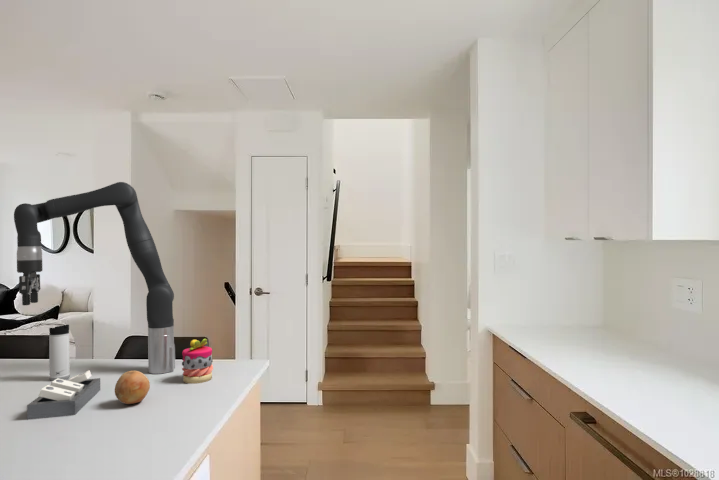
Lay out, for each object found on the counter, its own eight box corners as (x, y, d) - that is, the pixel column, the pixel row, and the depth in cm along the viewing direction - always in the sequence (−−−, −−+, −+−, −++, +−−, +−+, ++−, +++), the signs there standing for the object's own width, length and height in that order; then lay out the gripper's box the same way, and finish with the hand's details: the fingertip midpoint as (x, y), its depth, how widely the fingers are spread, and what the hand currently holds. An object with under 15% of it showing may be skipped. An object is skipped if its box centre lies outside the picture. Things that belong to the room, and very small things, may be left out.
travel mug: (60, 381, 166) (60, 326, 167) (45, 380, 168) (44, 326, 168) (74, 376, 173) (74, 323, 173) (59, 376, 174) (59, 323, 174)
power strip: (107, 382, 164) (107, 371, 164) (75, 414, 132) (74, 400, 132) (70, 385, 161) (69, 374, 161) (27, 419, 129) (27, 405, 129)
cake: (175, 382, 163) (175, 340, 163) (196, 374, 173) (196, 334, 173) (199, 385, 159) (198, 341, 159) (219, 376, 169) (218, 336, 169)
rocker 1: (73, 398, 138) (75, 391, 138) (67, 403, 134) (70, 395, 134) (44, 391, 136) (47, 384, 136) (38, 396, 132) (41, 388, 132)
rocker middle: (81, 390, 145) (84, 384, 146) (76, 395, 141) (79, 388, 141) (54, 384, 144) (57, 377, 144) (49, 388, 139) (51, 381, 139)
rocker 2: (91, 375, 153) (89, 369, 153) (87, 379, 149) (84, 373, 148) (66, 385, 151) (63, 380, 151) (61, 389, 147) (58, 383, 146)
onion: (157, 399, 144) (157, 367, 145) (132, 410, 135) (131, 376, 135) (133, 396, 148) (133, 365, 148) (107, 407, 138) (106, 373, 138)
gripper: (35, 259, 161) (36, 305, 160) (47, 258, 174) (48, 301, 174) (9, 259, 158) (10, 307, 158) (24, 259, 171) (24, 302, 171)
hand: (30, 303), depth 166 cm, fingers open, 8 cm apart
